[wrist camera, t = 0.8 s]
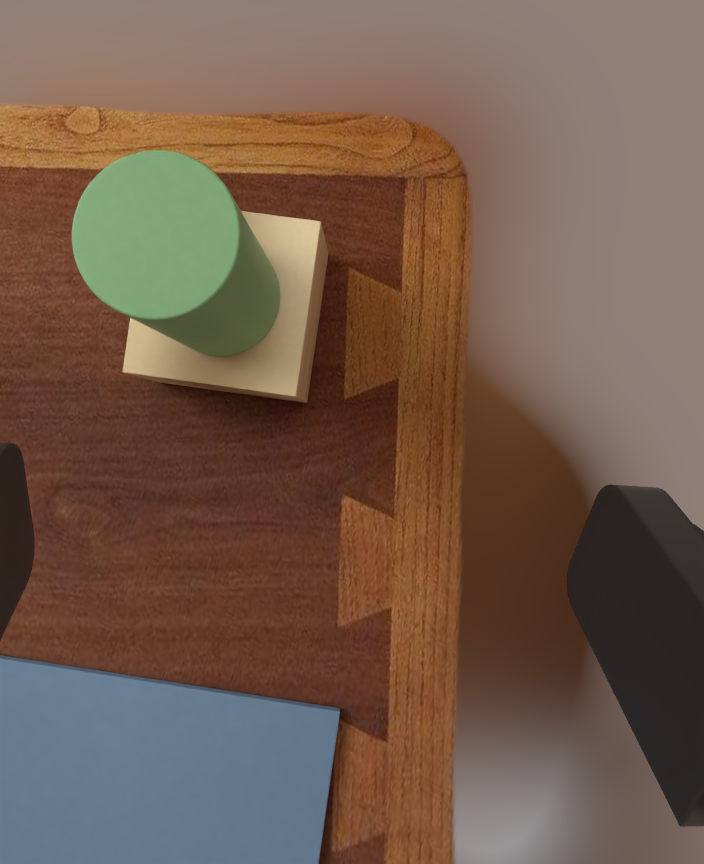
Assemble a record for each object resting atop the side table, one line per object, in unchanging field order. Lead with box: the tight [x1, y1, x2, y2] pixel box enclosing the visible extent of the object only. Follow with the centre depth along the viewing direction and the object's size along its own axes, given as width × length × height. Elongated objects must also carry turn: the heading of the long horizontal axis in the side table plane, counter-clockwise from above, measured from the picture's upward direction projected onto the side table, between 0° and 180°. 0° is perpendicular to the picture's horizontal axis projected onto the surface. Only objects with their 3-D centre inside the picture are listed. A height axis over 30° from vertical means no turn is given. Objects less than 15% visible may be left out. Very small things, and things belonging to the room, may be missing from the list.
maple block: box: [123, 211, 328, 403], centre depth 32 cm, size 8×8×5 cm
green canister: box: [72, 150, 280, 356], centre depth 25 cm, size 5×5×9 cm
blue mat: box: [0, 655, 341, 864], centre depth 34 cm, size 20×14×1 cm
